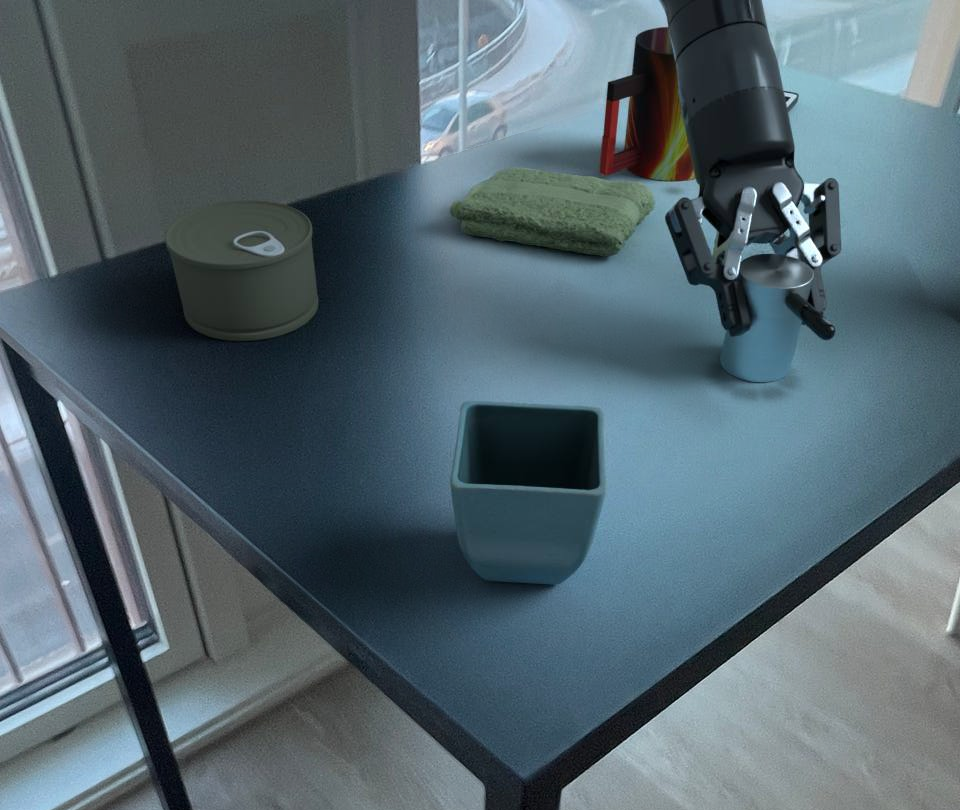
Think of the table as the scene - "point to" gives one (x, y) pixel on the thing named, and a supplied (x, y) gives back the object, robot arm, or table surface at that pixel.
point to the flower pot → (527, 488)
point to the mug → (648, 115)
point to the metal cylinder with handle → (772, 318)
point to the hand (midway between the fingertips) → (777, 326)
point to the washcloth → (555, 210)
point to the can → (244, 269)
